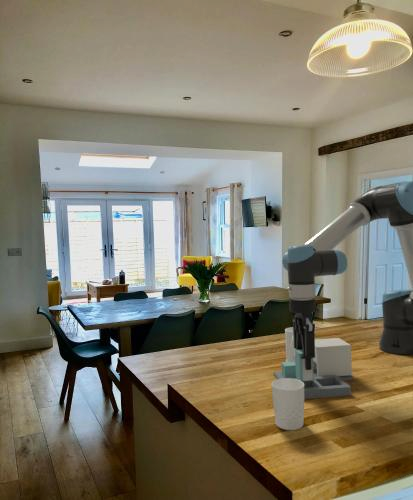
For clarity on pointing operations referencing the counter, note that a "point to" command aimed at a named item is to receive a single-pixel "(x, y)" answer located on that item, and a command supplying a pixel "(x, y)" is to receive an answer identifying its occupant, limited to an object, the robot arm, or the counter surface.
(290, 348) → the mug
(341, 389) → the socket board
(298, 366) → the peg
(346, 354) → the cover
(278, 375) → the board
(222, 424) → the counter surface
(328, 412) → the counter surface
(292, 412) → the white cup
